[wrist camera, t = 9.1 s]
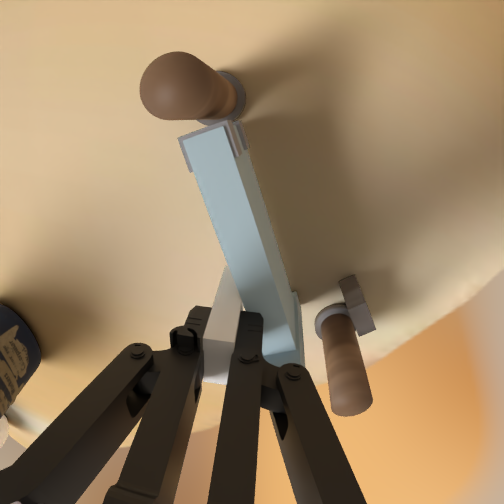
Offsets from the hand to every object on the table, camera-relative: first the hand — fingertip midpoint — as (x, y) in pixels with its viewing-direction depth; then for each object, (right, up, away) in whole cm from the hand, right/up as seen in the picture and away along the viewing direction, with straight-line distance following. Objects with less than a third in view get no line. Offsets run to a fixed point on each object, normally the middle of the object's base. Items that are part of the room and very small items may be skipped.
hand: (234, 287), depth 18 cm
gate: (+1, +4, +1) cm, 4 cm away
